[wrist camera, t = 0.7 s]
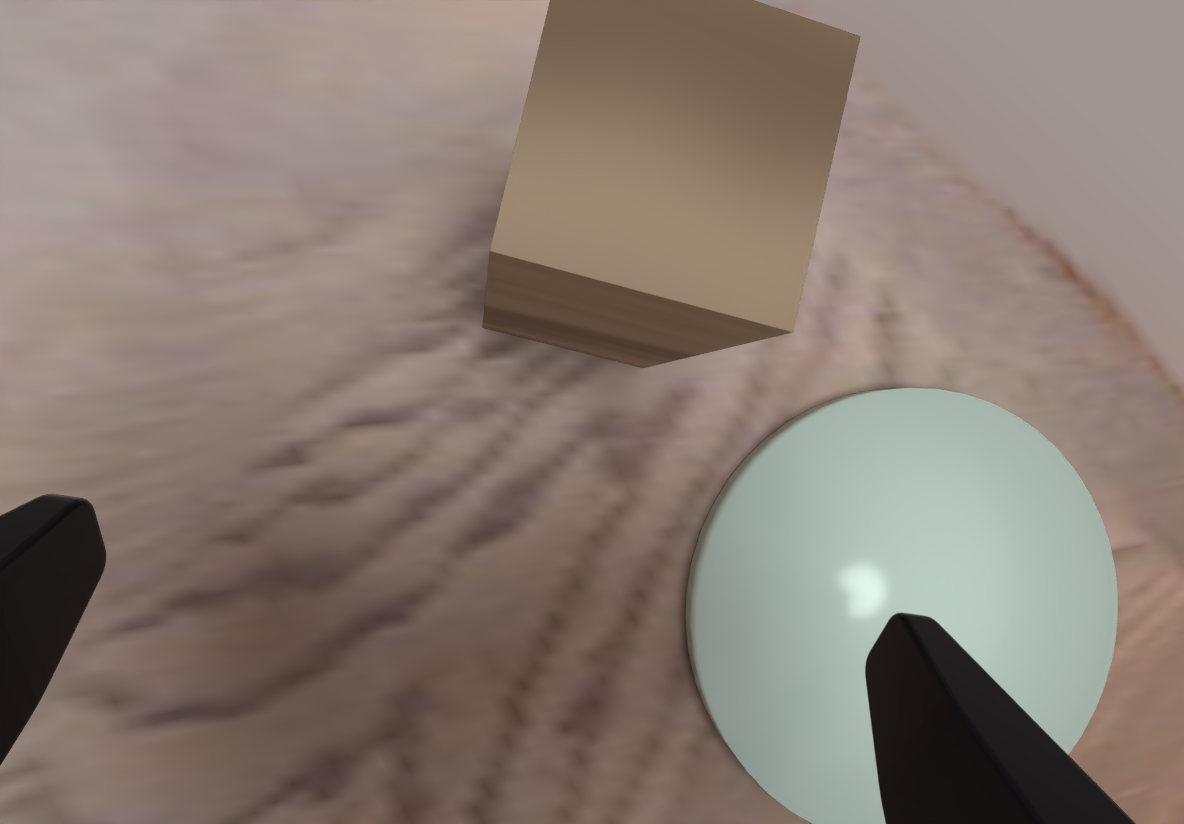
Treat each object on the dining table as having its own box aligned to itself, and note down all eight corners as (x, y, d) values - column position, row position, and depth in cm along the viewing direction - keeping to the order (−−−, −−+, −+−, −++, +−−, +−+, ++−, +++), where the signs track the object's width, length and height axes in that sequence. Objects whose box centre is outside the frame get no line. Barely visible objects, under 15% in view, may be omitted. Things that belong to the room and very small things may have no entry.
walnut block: (643, 368, 23) (792, 332, 12) (482, 327, 22) (489, 250, 11) (680, 210, 23) (860, 36, 12) (521, 165, 22) (565, -64, 12)
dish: (974, 890, 25) (999, 914, 24) (605, 711, 23) (613, 728, 22) (1153, 512, 26) (1185, 516, 25) (813, 309, 24) (830, 304, 23)
